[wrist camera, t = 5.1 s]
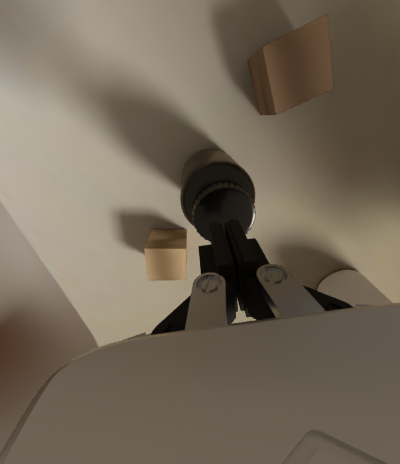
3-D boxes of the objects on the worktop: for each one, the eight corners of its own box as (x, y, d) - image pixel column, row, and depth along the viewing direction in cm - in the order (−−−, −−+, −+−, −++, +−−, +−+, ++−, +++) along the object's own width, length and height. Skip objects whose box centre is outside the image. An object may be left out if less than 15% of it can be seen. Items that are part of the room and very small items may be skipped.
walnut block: (297, 36, 20) (327, 13, 15) (305, 94, 22) (333, 89, 18) (247, 61, 21) (262, 46, 16) (259, 114, 23) (276, 114, 18)
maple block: (186, 229, 29) (185, 248, 25) (186, 257, 32) (185, 280, 28) (151, 228, 29) (144, 248, 25) (153, 257, 32) (147, 280, 27)
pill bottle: (313, 305, 38) (377, 404, 25) (317, 272, 34) (396, 369, 21) (357, 298, 38) (446, 396, 25) (367, 264, 34) (478, 358, 21)
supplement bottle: (198, 211, 28) (202, 267, 18) (172, 165, 25) (158, 200, 15) (245, 187, 27) (280, 233, 16) (223, 136, 24) (249, 151, 13)
